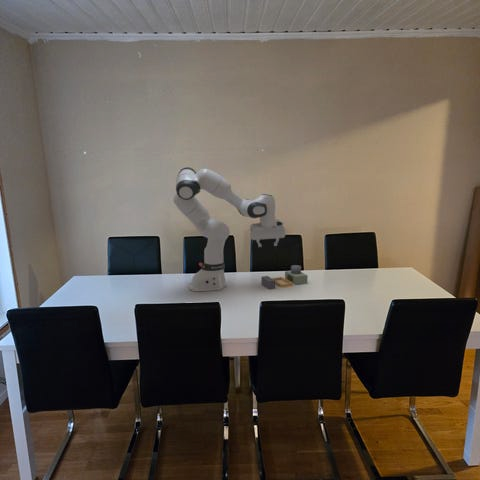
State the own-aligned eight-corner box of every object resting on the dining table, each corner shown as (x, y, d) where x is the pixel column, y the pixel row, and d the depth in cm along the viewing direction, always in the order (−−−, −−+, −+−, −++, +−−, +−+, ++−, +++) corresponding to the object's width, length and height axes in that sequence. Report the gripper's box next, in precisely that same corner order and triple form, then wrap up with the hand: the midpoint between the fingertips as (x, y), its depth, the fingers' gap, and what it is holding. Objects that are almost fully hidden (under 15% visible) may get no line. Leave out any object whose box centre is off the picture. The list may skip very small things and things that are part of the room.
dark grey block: (269, 289, 218) (269, 281, 217) (261, 284, 227) (261, 276, 226) (275, 288, 219) (275, 280, 218) (267, 283, 228) (267, 275, 227)
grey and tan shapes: (281, 287, 221) (281, 272, 219) (270, 280, 234) (270, 266, 232) (307, 283, 228) (308, 268, 226) (295, 277, 240) (296, 263, 239)
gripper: (251, 224, 212) (251, 248, 215) (286, 222, 217) (286, 246, 220) (248, 222, 218) (249, 246, 221) (282, 220, 223) (282, 243, 226)
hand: (267, 246), depth 220 cm, fingers open, 8 cm apart
